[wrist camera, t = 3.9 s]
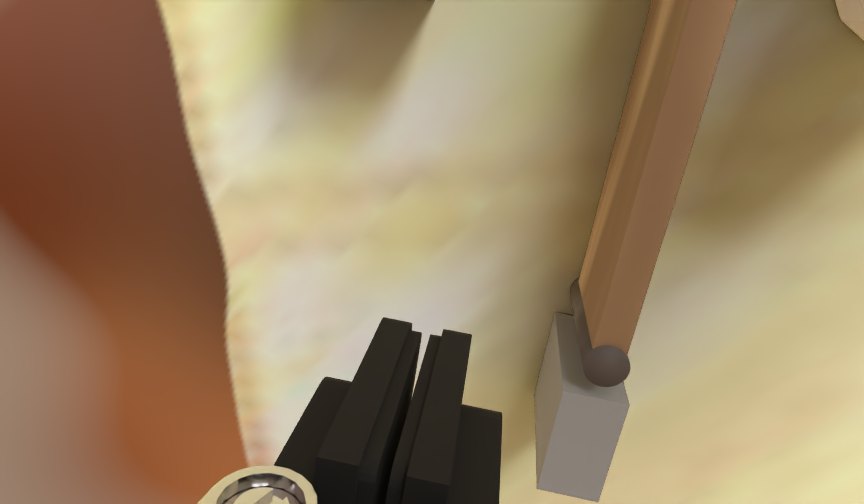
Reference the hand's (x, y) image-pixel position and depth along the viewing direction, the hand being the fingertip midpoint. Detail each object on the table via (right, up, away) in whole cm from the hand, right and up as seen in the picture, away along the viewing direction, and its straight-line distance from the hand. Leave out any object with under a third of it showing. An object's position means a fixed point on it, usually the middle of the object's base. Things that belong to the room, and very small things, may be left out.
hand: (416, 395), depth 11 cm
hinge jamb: (+7, -2, +17) cm, 19 cm away
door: (+8, +6, +14) cm, 17 cm away
